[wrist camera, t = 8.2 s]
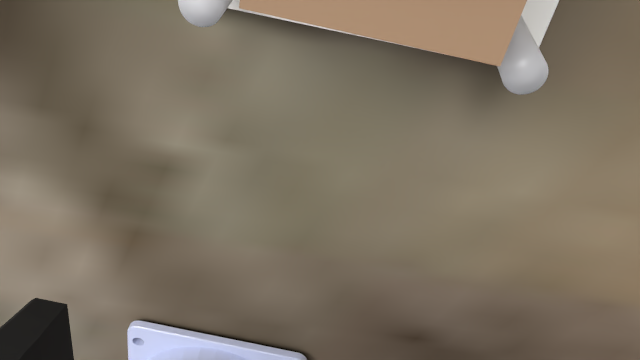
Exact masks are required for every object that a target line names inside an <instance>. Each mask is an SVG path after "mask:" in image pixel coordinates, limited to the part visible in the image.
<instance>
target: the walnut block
mask: <svg viewBox="0 0 640 360" xmlns="http://www.w3.org/2000/svg"><path fill="white" fill-rule="evenodd" d="M526 2H527V0H240V3H239V8H240V9H245V10H249V11H254V12H258V13H262V14H267V15H271V16H276V17H280V18H285V19H289V20H294V21H298V22H303V23H307V24H312V25H316V26H321V27H325V28H330V29H334V30H339V31H343V32H348V33H352V34H357V35H361V36H366V37H370V38H375V39H379V40H384V41H388V42H392V43H397V44H401V45H406V46H410V47H415V48H419V49H424V50H428V51H433V52H437V53H442V54H446V55H451V56H455V57H460V58H464V59H469V60H473V61H478V62H482V63H487V64H491V65H496V66H501V63H502V61H503V58H504V56H505V53H506V51H507V48H508V46H509V44H510V41H511V39H512V36H513V34H514V31H515V29H516V26H517V24H518V21H519V19H520V16H521V14H522V12H523V9H524V7H525V4H526Z"/></svg>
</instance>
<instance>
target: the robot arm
mask: <svg viewBox="0 0 640 360" xmlns="http://www.w3.org/2000/svg"><path fill="white" fill-rule="evenodd" d="M127 334H128V360H307V358H306V357H305V356H304V355H303V354H301V353H298V352H293V351H288V350H283V349H278V348H273V347H269V346H264V345H259V344H254V343H249V342H244V341H239V340H234V339H229V338H224V337H219V336H214V335H209V334H204V333H199V332H195V331H190V330H185V329H180V328H175V327H170V326H165V325H160V324H155V323H150V322H145V321H138V320H137V321H133V322H132V323H131V324H130V326H129V328H128V331H127ZM0 360H74V357H73V349H72V341H71V333H70V324H69V316H68V308H67V304H63V303H58V302H53V301H48V300H43V299H38V298H35V299H33V300H31V301H30V302H29V303H28V304H27V305H25V306H24V307H23V308H22V309H21V310H20V311H19V312H18V313H16V314H15V315H14V316H13V317H12V318H11V319H10V320H8V321H7V322H6V323H5V324H4V325H3V326H2V327H0Z"/></svg>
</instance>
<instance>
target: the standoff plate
mask: <svg viewBox="0 0 640 360" xmlns="http://www.w3.org/2000/svg"><path fill="white" fill-rule="evenodd" d="M558 2H559V0H527V2H526V4H525V7H524V9H523V12H522V14H521V16H520V19H519V21H518V24H517V26H516V29H515V31H514V34H513V36H512V39H511V41H510V44H509V46H508V48H507V51H506V53H505V56H504V58H503V61H502V63H501V66H497V67H498V70H499V73H500V76H501V79H502V82H503V84H504V86H505V87H506V88H507V89H508V90H509V91H510V92H512V93H515V94H529V93H532V92H534V91H536V90H537V89H539V88H540V87H541V86H542V85H543V84H544V83H545V81H546V79H547V77H548V65H547V63H546V61H545V59H544V57H543V55H542V53H541V51H540V49H539V46H540V44H541V42H542V39H543V37H544V35H545V32H546V30H547V28H548V25H549V23H550V21H551V18H552V16H553V14H554V11H555V9H556V7H557V4H558ZM239 3H240V0H178V4H179V8H180V11H181V13H182V15H183V16H184V17H185V19H186V20H187V21H189V22H190V23H192V24H193V25H196V26H199V27H209V26H212V25H214V24H215V23H217V22H218V20H219V19H220V18H221V16H222V15H223V13H224V12H225V11H226V9H227V8H229V9H234V10H239V11H244V12H248V13H253V14H258V15H262V16H267V17H272V18H276V19H281V20H286V21H290V22H295V23H300V24H305V25H309V26H314V27H319V28H323V29H328V30H333V31H337V32H342V33H347V34H351V35H356V36H361V35H357V34H352V33H348V32H343V31H339V30H334V29H330V28H325V27H321V26H316V25H312V24H307V23H303V22H298V21H294V20H289V19H285V18H280V17H276V16H271V15H267V14H262V13H258V12H254V11H249V10H245V9H240V8H239ZM361 37H366V36H361ZM366 38H370V37H366ZM370 39H375V38H370ZM375 40H379V39H375ZM380 41H384V40H380ZM384 42H388V41H384ZM389 43H392V42H389ZM394 44H397V43H394ZM398 45H401V44H398ZM403 46H406V45H403ZM408 47H410V46H408ZM413 48H415V47H413ZM417 49H419V48H417ZM422 50H424V49H422ZM427 51H428V50H427ZM431 52H433V51H431ZM436 53H437V52H436ZM441 54H442V53H441ZM445 55H446V54H445ZM450 56H451V55H450ZM459 58H460V57H459Z"/></svg>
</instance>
